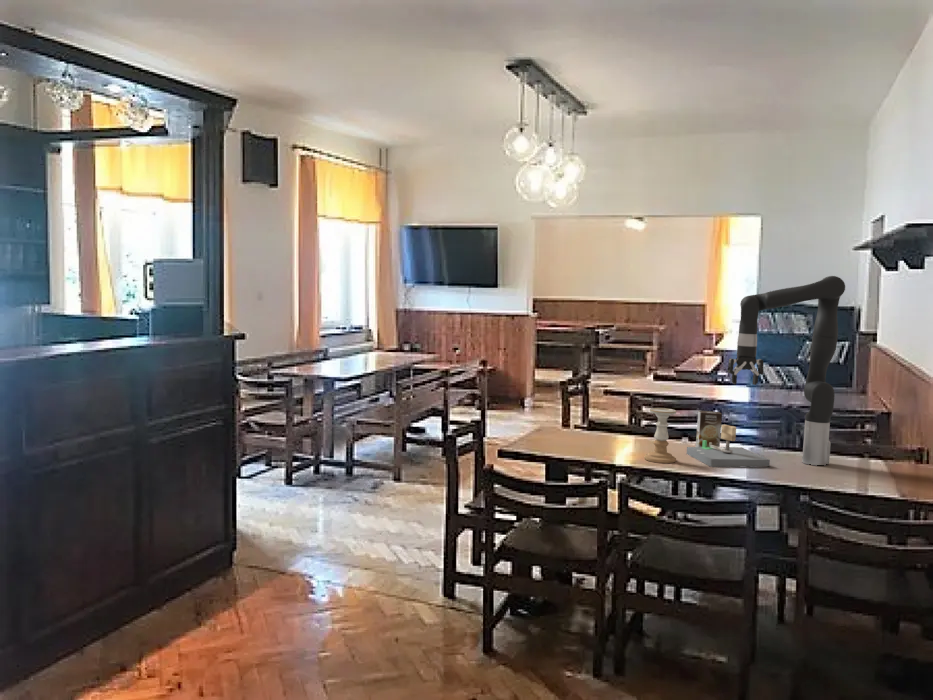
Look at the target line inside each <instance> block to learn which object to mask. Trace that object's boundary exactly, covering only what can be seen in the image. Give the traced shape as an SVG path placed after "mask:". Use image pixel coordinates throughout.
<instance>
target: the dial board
mask: <svg viewBox="0 0 933 700" xmlns="http://www.w3.org/2000/svg"><path fill="white" fill-rule="evenodd" d="M720 447H721V448H725V449H726V446H725V447H724V446H720ZM729 450H733V452H732V453H724V452H722V451H721V450H718V449H714V448H710V447H707V441H706V440H703V443H702V447H696V446H686V455H687V454H688V455H687V456H690V457H691V458H694V459H695V460H696V461H699V462H701V463H703V464H705V465H707V466H708V467H710V468H741V467H740V466H769V467H770V462H771V461H770V459H769V458H767V457H764V456H763V455H761V454H758V453H756V452H753V451H752V450H748V449H746V448H744V447H740V446H738V447H735V446H734V447H733V446H729Z"/></svg>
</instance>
